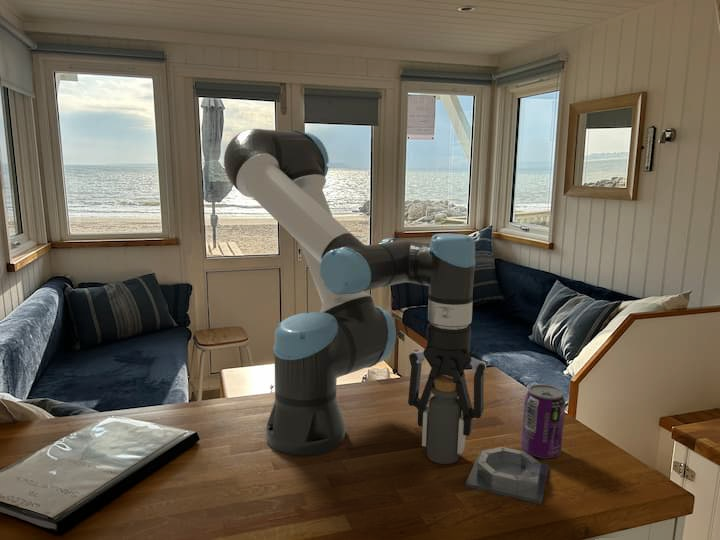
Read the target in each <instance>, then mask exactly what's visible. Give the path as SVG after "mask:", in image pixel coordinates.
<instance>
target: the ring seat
mask: <svg viewBox="0 0 720 540" xmlns="http://www.w3.org/2000/svg"><path fill="white" fill-rule="evenodd" d="M549 466H550V465H549V463H544V462H540V461H539V460H537V459H536V458H534V456H533V455H531V454H530V453H528V452H526V451H525V450H518V449H513V448H509V447H505V446H499V447H494V448H490V449H485V450H482V449H479V452H478V455H477V457H476V458H475V462H474V463H473V466H472V468H471V471H470V473H469V475H468V477H467V479H466V482H465V487H466V488H470V489H473V490H474V489H475V490H479V491H482V492H483V491H484V492H486V493H487V492H488V493H491V494H497V495H500V496H503V497H508V498H513V499H516V500H520V501H521V500H522V501H525V502H529V503H534V504H537V505H542V503H543V498H544V492H545V487H546V483H547V481H546V480H547V478H548V477H547V476H548V471H549Z"/></svg>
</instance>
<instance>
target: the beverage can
mask: <svg viewBox="0 0 720 540" xmlns="http://www.w3.org/2000/svg"><path fill="white" fill-rule="evenodd" d="M564 395H565V393H564V391H563V390H562V389H561V388H559V387H557V386H553V385H549V384H543V383H542V384H541V383H540V384H538V383H537V384H532V385H529V386H528V387H527V392H526V394H525V395H524V403H523V404H524V405H523V414H522V429H521V441H520V445H521V446H520V447H521V449H523V451H524V452H526V453H528V454H529V455H530V456H532V457H536V458H540V459H550V458H555V457H557V456H559V455H560V454H561V453H562V445H563V434H564V433H563V432H564V423H565V412H566V400H565V397H564Z"/></svg>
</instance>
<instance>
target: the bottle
mask: <svg viewBox="0 0 720 540" xmlns="http://www.w3.org/2000/svg"><path fill="white" fill-rule="evenodd" d="M432 394H433V396H430V399H429V402H428V407H429V412H428V434H427V446H426V456H427V458H428V459H429V460H430V461H432V462H434V463H437V464H443V465H448V464H449V465H450V464H453V463H456V462H458V460H459V459H460V454H457V449H458V430H459V419H460V417H461V415H462V409H461V405H460V401H459V397H458V393H457V389H456V383H454V381H453V377H449V376H447V375H438V376H437V377H436V378H435V380H434V386H433V387H432Z"/></svg>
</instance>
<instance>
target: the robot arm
mask: <svg viewBox="0 0 720 540" xmlns="http://www.w3.org/2000/svg"><path fill="white" fill-rule="evenodd" d="M223 155H224V156H223V167H224V171H225V175H226V176H227V178H228V180H229V182H230V183H231V185H232V186H234V188H235V189H236V190H237V191H238V192H239V193H240V194H241V195H243V196H244V197H247V198H252V199H254V200H255V201H256V202H257V203H258V204H259V205H260V206H261V207H262V208H263V209H264V210H265V211H266V212H267V213H268V214H269V215H270V216H271V217H272V218H273V219H275V220H276V221H277V222H278V224H279V225H280V226H281V227H283V229H285V230H286V232H288V233H289V234H290V235H291V237H293V238H294V239H295V240H296V241H297V242H298V243H299V245H300V247H301V251H302V252H303V256H304V259H305V261H306V264H307V266H308V269H309V272H310V274H311V277H312V280H313V282H314V286H315V288H316V291H317V293H318V296H319V299H320V301H321V304H322V305H321V308H320V311H310V312H309V313H308V312H301V313H296V314H293V315H291V316H289V317H287V318H285V319H283V320H281V321H280V323H278V324H277V326H276V328H275V330H274V331H275V332H274V342H273V353H274V402H273V404H272V407H271V411H270V413H269V416H268V420H267V423H266V427H265V435H266V437H265V439H266V442H267V444H268V445H269V446H270V447H271V449H274V450H276V452H281V453H283V454H286V455H290V456H299V457H300V456H301V457H302V456H307V457H308V456H316V455H321V454H326V453H328V452H331V451H333V450H335V449H336V448H338V447H339V446H341V445H342V443H344V441H345V438H346V437H345V436H346V424H345V420H344V417H343V414H342V411H341V408H340V405H339V401H338V399H337V379H338V378H340V377H342V376H346V375H349V374H351V373H355V372H357V371H361V370H364V369H368V368H372V367H373V366H376V365H377V364H379V363H382V362H383V361H385V360H386V359H388V358H389V357H390V356H391V354H392V353H393V350H394V346H395V344H396V339H397V338H396V337H397V331H396V329H397V328H396V325H395V322H394V319H393V317H392V315H391V314H390V313H389V311H387V310H385V309H384V308H382V307H380V306H377V305H375V302H374V300H373V298H372V295H371V294H370V293H367V292H365V291H369V290H374V289H378V288H384V287H389V286H394V285H398V284H404V283H412V284H417V285H421V286H426V287H428V302H427V303H428V305H427V306H428V307H427V321H429V323H428V324H427V326H426V327H427V329H426V347H425V348H424V350H418V349H414V350H413V351H412V352H411V353H410V354H409V355H408V358H409V362H410V365H411V366H410V379H409V389H408V397H407V398H408V399H407V404H408V405H409V406H410V407H415V408H416V409H417V426H418V427H421V428H422V430H421V432H422V435H421V436H422V437H421V446H422V447H426V448H427V434H428V412H429V406H428V405H429V400H430V398H431V397H432V394H433V393H432V387H433V386H434V380H435V378H436V377H437V376H438V375H447V376H449V377H453V381H454V383H456V389H457V393H458V397H457V398H458V399H459V401H460V405H461V409H462V414H461V417H460V419H459V430H458V449H457V454H459V455H462V454H463V453H464V450H465V447H466V437H469V436H470V434H471V433H472V430H473V419H475V418H476V419H480V418H481V417H482V415H483V412H484V409H485V408H484V407H485V406H484V404H485V403H484V400H485V399H484V397H485V396H484V394H485V393H484V389H485V387H484V384H485V383H484V382H485V381H484V379H485V377H484V375H485V370H486V369H487V365H488V362H487V361H486V360H485V359H481V360H479V359H477V358H475V357H473V354H472V352H471V336H472V327H471V326H470V324H472V320H473V319H472V318H473V291H474V281H475V280H474V277H475V269H476V268H475V266H476V263H477V262H476V242H475V239H474V238H473V237H472V236H470V235H468V234H463V233H451V232H450V233H449V232H448V233H445V232H443V233H435V234H434V235H432V237H431V239H430V243H428V242H427V243H426V242H422V241H415V240H408V239H404V238H400V237H398V238H391V237H387V238H384V239H382V240H381V241H380V242H379V243H373V244H369V245H368V244H364V243H363V242H362V241H361V240H359V239H358V238H357V237H356V236H355V235H353V234H352V233H351V231H349V230H348V229H347V228H346V227H345V226H344V225H343V224H341V222H340V221H338V220H337V219H336V218H335V217H334V216H333V214H332V211H331V208H330V206H329V203H328V201H327V198H326V196H325V193H324V191H323V189H324V188H325V185H326V182H327V178H326V176H327V175H328V172H329V166H328V164H329V163H330V162H329V161H330V160H329V155H328V152H327V148H326V147H325V145H324V143H323V142H322V140H321V139H320V138H318V136H316V135H315V134H312V133H310V132H305V131H300V130H289V131H288V130H276V129H275V130H273V129H262V128H250V129H246V130H243V131H242V132H239V133H238V134H236V135H235V136H234V137H233V138H232V139H231V140H230V141H229V143H228V144H227V146H226V149H225V151H224V154H223ZM424 360H426V362H427V364H429V366H430V367H431V368H430V371H429V374H428V377H427V380H426V383H425V386H424V389H423V390H422V391H423V392H422V394H421V396H420V397H419V395H420V384H421V375H422V364H423V362H424ZM469 365H470V366H471V370H472V372H473V373H474V376H473V405H472V401H471V398H470V393H469V390H468V384H467V381H466V374H465V369H467V367H468V366H469Z"/></svg>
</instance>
